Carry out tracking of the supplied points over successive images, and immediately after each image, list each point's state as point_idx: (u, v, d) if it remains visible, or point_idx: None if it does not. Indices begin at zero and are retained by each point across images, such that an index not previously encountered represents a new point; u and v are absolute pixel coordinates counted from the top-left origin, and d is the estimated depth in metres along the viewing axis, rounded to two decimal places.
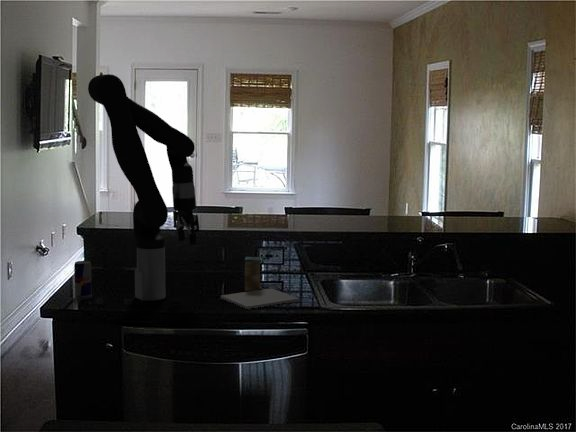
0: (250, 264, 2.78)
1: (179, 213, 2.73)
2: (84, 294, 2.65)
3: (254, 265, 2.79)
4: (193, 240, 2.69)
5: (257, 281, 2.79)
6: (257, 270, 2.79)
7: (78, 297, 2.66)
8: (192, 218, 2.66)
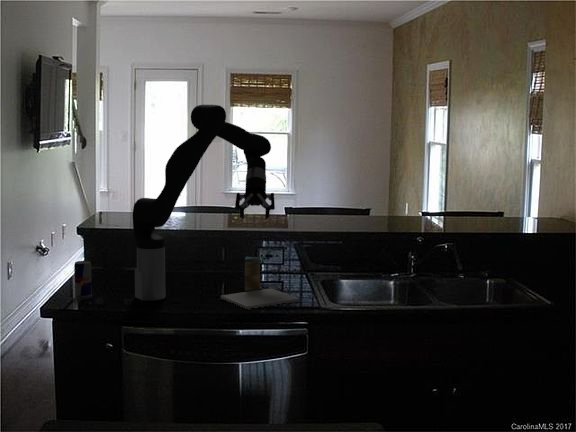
0: (250, 264, 2.78)
1: (249, 193, 2.95)
2: (84, 294, 2.65)
3: (254, 265, 2.79)
4: (269, 213, 2.91)
5: (257, 281, 2.79)
6: (257, 270, 2.79)
7: (78, 297, 2.66)
8: (273, 195, 2.95)
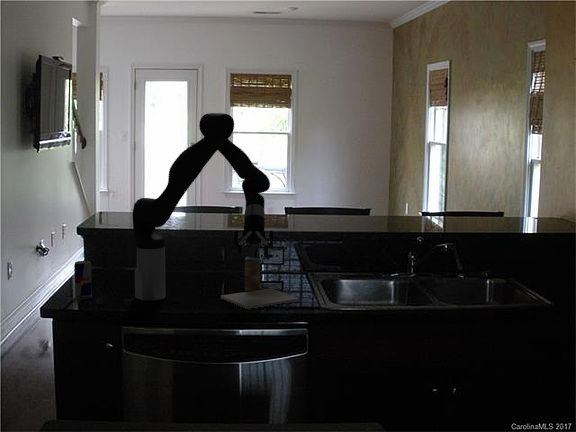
0: (250, 264, 2.78)
1: (247, 231, 2.92)
2: (84, 294, 2.65)
3: (254, 265, 2.79)
4: (267, 252, 2.87)
5: (257, 281, 2.79)
6: (257, 270, 2.79)
7: (78, 297, 2.66)
8: (272, 233, 2.91)
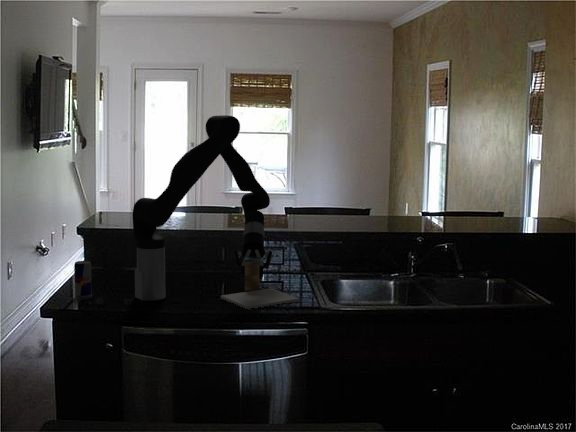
0: (250, 264, 2.78)
1: (246, 249, 2.85)
2: (84, 294, 2.65)
3: (254, 265, 2.79)
4: None
5: (257, 281, 2.79)
6: (257, 270, 2.79)
7: (78, 297, 2.66)
8: (271, 254, 2.84)
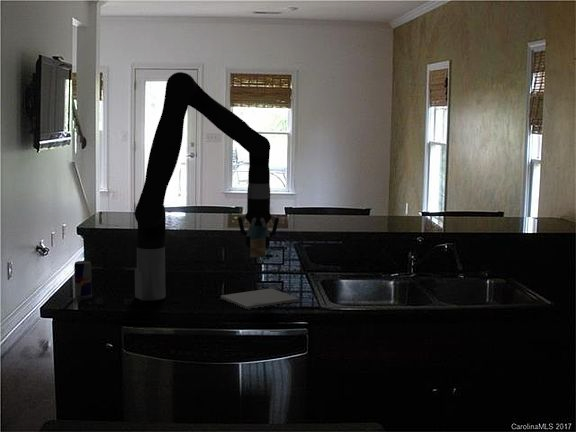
0: (256, 241, 2.64)
1: (251, 215, 2.65)
2: (84, 294, 2.65)
3: (260, 241, 2.64)
4: None
5: (263, 251, 2.69)
6: (263, 245, 2.65)
7: (78, 297, 2.66)
8: None
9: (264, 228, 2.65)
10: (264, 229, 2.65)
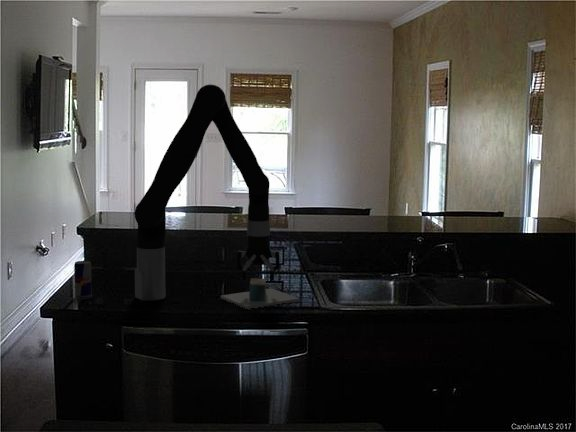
0: None
1: (251, 252, 2.66)
2: (84, 294, 2.65)
3: None
4: (273, 277, 2.68)
5: None
6: None
7: (78, 297, 2.66)
8: (278, 254, 2.67)
9: (263, 289, 2.61)
10: (263, 290, 2.61)
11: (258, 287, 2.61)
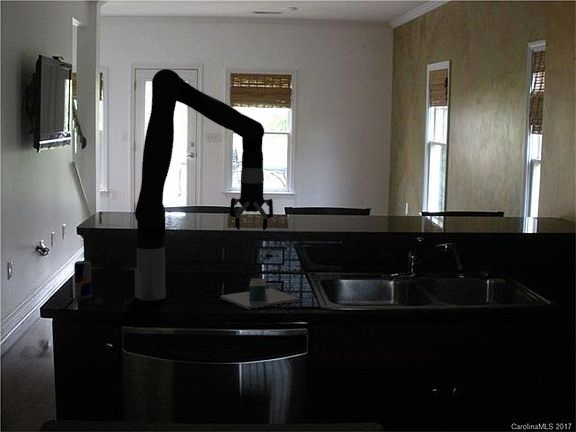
0: None
1: (245, 200, 2.66)
2: (84, 294, 2.65)
3: None
4: None
5: None
6: None
7: (78, 297, 2.66)
8: (272, 202, 2.66)
9: (263, 289, 2.61)
10: (263, 290, 2.61)
11: (258, 287, 2.61)
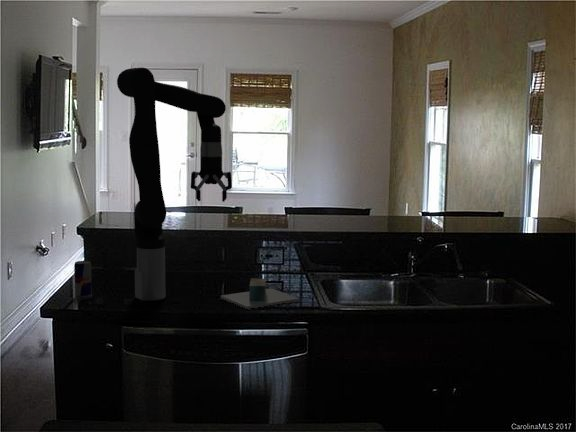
0: None
1: (204, 173, 2.81)
2: (84, 294, 2.65)
3: None
4: (226, 196, 2.83)
5: None
6: None
7: (78, 297, 2.66)
8: (230, 175, 2.81)
9: (263, 289, 2.61)
10: (263, 290, 2.61)
11: (258, 287, 2.61)
